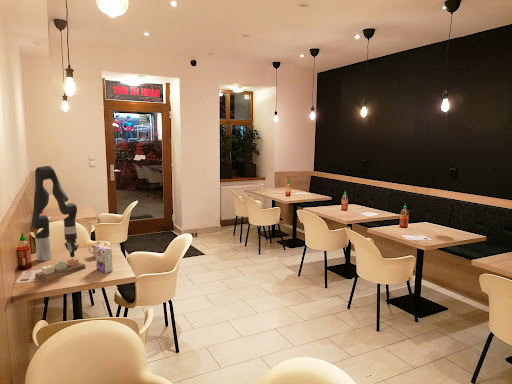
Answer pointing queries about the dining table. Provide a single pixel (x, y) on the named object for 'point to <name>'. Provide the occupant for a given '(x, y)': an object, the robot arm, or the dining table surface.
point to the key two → (60, 266)
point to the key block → (59, 272)
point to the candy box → (104, 258)
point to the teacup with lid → (94, 247)
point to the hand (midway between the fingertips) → (72, 256)
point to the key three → (72, 262)
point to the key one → (47, 270)
